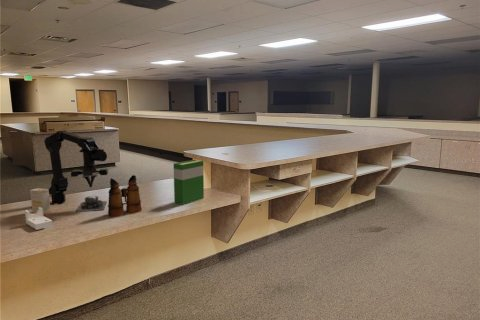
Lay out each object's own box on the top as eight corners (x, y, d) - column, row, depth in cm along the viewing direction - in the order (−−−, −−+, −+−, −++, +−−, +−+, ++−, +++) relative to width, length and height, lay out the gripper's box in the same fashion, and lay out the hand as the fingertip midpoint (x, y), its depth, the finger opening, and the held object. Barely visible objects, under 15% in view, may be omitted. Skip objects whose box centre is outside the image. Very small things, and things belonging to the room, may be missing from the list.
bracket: (26, 225, 167) (24, 210, 165) (41, 221, 172) (40, 207, 171) (36, 231, 158) (35, 216, 157) (52, 227, 164) (51, 212, 162)
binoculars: (111, 218, 176) (108, 180, 173) (105, 214, 183) (103, 178, 179) (144, 211, 188) (142, 176, 185) (138, 207, 194) (136, 173, 191)
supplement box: (51, 212, 185) (49, 189, 183) (43, 214, 180) (41, 191, 178) (39, 210, 188) (37, 187, 185) (32, 213, 183) (29, 189, 181)
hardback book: (195, 196, 218) (194, 159, 214) (203, 198, 214) (203, 160, 209) (174, 202, 204) (173, 163, 200) (182, 204, 200) (182, 165, 196)
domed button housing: (84, 207, 190) (84, 198, 189) (86, 204, 196) (85, 195, 195) (97, 206, 192) (97, 197, 191) (99, 203, 197) (98, 195, 196)
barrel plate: (76, 211, 186) (76, 207, 185) (81, 204, 199) (81, 200, 199) (103, 210, 189) (103, 205, 189) (106, 202, 202) (106, 198, 202)
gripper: (67, 163, 179) (69, 192, 182) (104, 162, 184) (106, 189, 187) (72, 160, 190) (74, 187, 193) (107, 158, 195) (109, 185, 197)
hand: (91, 187), depth 192 cm, fingers closed
